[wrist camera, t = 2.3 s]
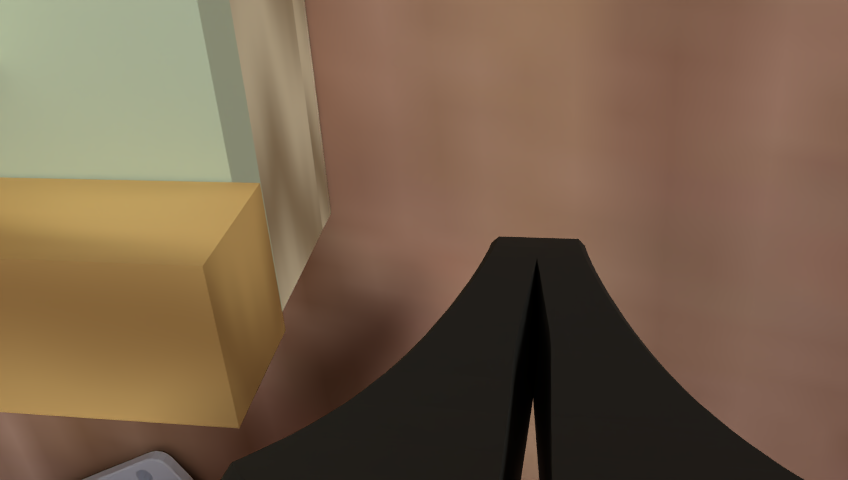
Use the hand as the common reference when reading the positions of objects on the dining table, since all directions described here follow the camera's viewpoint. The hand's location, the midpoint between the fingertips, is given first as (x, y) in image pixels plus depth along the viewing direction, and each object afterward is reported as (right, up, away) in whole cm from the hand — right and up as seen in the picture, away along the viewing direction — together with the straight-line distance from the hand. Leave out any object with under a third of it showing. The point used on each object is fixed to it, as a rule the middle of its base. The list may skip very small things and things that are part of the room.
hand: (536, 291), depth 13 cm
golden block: (-10, +1, +2) cm, 10 cm away
